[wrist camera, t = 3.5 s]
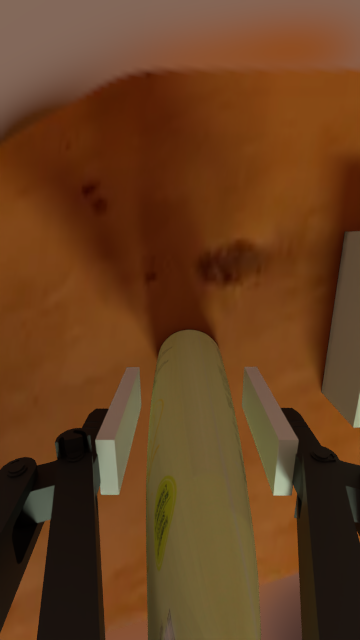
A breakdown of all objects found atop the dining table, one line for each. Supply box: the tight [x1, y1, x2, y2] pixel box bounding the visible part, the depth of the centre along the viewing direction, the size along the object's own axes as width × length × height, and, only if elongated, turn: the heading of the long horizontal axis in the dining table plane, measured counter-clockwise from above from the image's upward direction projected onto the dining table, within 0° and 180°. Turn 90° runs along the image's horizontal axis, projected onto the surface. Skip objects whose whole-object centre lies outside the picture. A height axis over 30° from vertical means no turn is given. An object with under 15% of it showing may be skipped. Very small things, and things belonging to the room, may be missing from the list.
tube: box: [146, 330, 261, 640], centre depth 13 cm, size 6×5×20 cm
